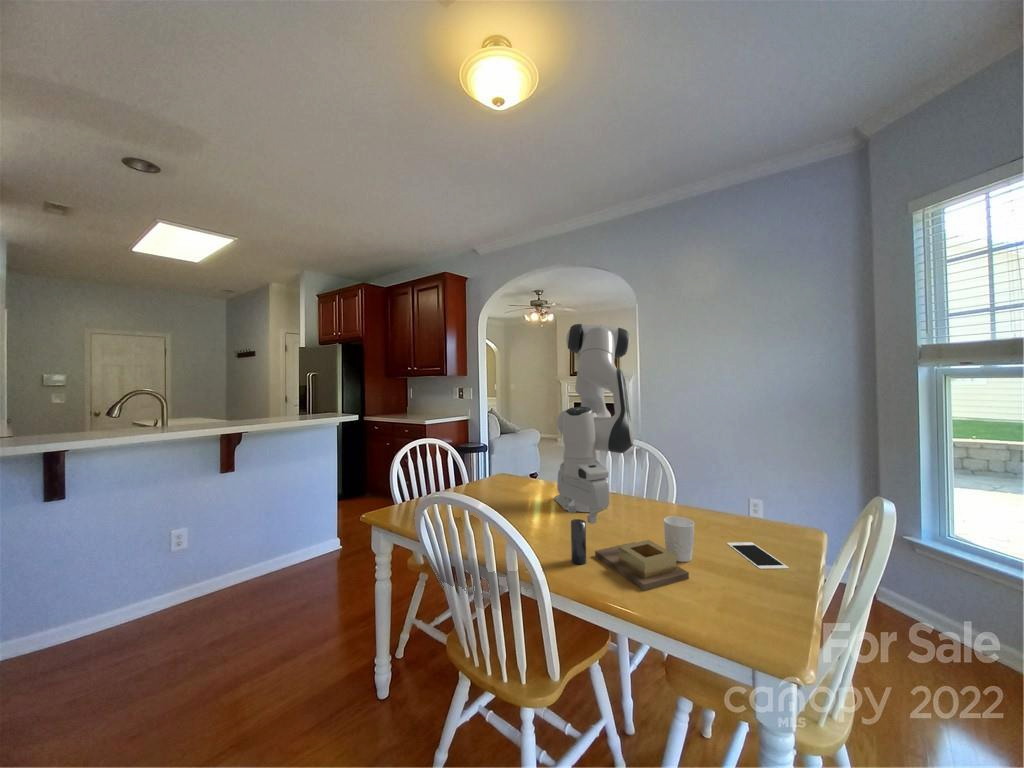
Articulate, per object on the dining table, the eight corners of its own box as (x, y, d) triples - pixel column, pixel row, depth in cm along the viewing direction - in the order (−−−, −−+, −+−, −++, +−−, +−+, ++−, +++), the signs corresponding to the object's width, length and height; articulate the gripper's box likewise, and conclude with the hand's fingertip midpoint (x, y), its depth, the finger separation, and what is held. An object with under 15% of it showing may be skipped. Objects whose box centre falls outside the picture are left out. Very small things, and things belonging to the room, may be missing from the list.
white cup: (676, 565, 105) (676, 528, 105) (658, 552, 113) (657, 517, 113) (701, 561, 107) (700, 524, 107) (681, 549, 115) (681, 514, 115)
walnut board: (595, 555, 111) (595, 550, 111) (635, 547, 117) (634, 542, 117) (644, 590, 93) (643, 584, 93) (688, 578, 98) (688, 572, 98)
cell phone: (752, 544, 118) (751, 542, 118) (789, 570, 102) (789, 567, 102) (726, 544, 118) (726, 542, 118) (759, 570, 102) (759, 568, 102)
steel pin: (568, 559, 109) (568, 520, 109) (581, 557, 111) (580, 518, 111) (576, 566, 106) (575, 525, 105) (589, 563, 107) (588, 523, 107)
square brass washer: (618, 561, 105) (618, 546, 105) (648, 554, 108) (648, 539, 108) (644, 578, 95) (644, 562, 95) (676, 570, 99) (676, 554, 99)
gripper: (551, 461, 116) (552, 508, 116) (592, 475, 97) (593, 531, 97) (569, 459, 118) (571, 505, 118) (612, 472, 99) (614, 527, 99)
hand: (581, 517), depth 107 cm, fingers open, 8 cm apart
